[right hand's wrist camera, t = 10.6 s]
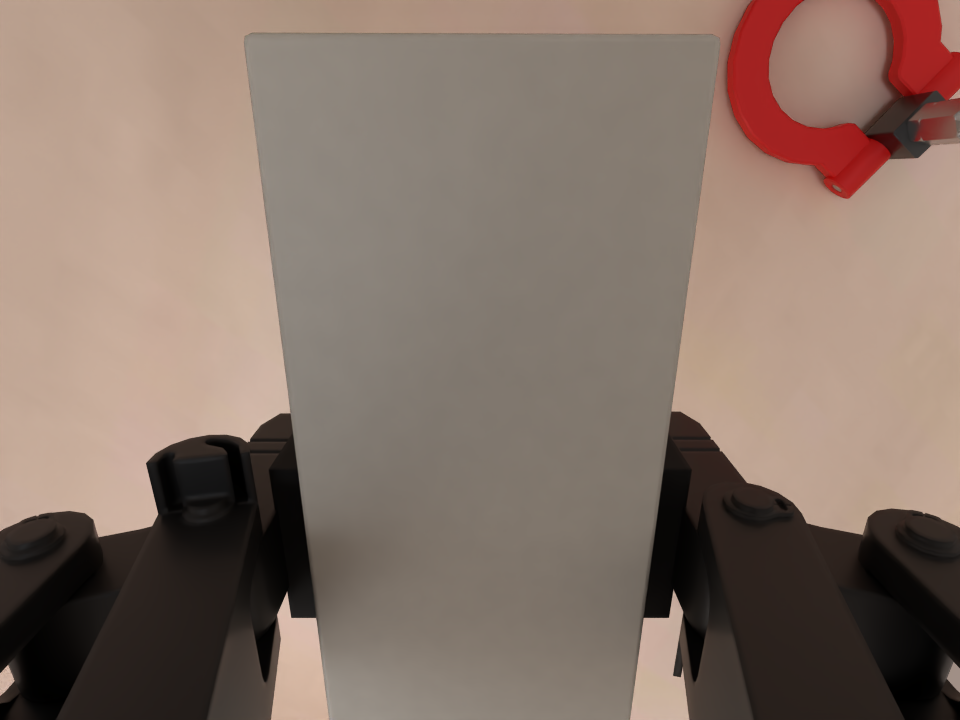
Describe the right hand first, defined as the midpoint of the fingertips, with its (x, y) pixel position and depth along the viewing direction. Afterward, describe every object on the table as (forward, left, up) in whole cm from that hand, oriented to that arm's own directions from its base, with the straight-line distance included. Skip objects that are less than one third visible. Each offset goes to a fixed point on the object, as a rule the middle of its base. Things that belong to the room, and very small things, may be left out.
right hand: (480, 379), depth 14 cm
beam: (+14, +15, -1) cm, 20 cm away
